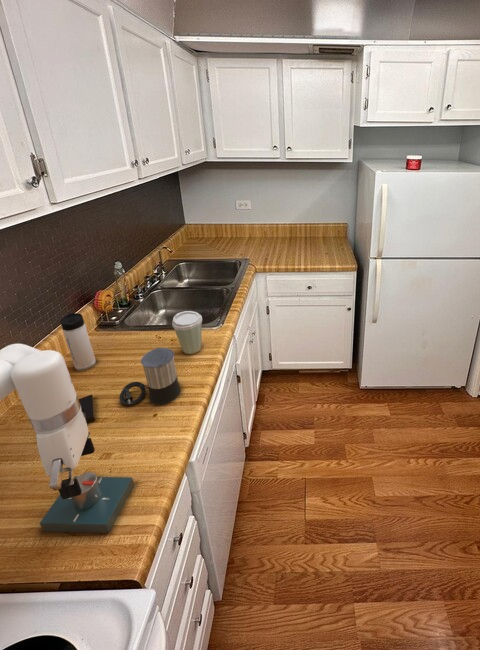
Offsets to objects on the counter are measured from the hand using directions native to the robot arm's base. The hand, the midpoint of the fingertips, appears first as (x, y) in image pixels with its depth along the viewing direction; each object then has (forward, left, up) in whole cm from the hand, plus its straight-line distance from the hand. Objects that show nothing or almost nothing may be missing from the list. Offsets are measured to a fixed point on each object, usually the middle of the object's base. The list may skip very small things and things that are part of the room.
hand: (80, 473), depth 70 cm
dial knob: (0, 0, -8) cm, 8 cm away
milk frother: (+9, +32, -11) cm, 35 cm away
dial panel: (0, 0, -11) cm, 11 cm away
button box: (-13, +30, -11) cm, 35 cm away
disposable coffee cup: (+21, +53, -11) cm, 58 cm away
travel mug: (-15, +56, -11) cm, 59 cm away
